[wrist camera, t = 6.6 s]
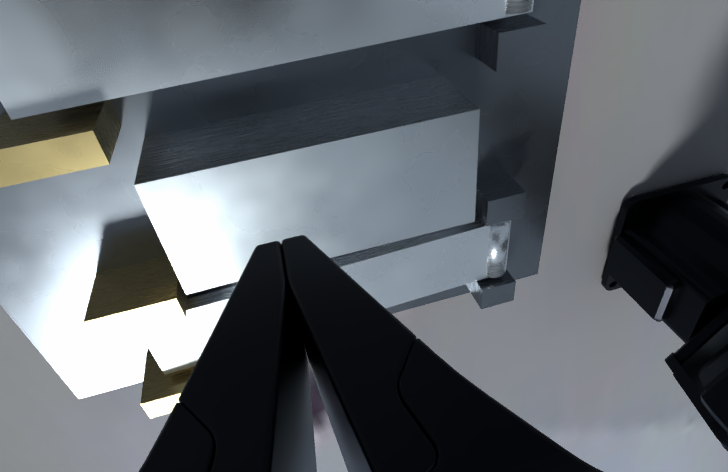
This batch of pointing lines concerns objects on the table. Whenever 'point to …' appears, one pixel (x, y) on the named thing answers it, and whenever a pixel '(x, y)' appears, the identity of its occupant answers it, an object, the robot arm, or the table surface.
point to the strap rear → (359, 282)
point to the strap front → (193, 40)
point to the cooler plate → (126, 232)
